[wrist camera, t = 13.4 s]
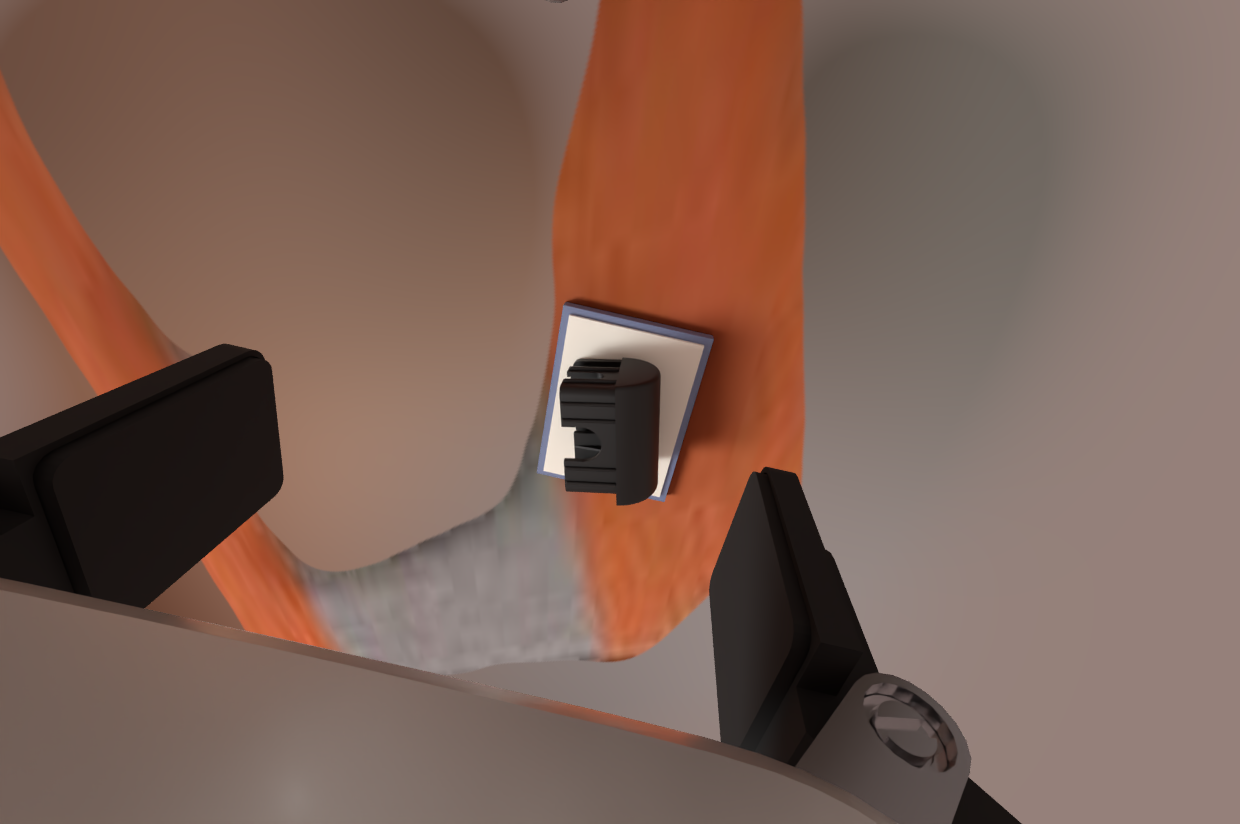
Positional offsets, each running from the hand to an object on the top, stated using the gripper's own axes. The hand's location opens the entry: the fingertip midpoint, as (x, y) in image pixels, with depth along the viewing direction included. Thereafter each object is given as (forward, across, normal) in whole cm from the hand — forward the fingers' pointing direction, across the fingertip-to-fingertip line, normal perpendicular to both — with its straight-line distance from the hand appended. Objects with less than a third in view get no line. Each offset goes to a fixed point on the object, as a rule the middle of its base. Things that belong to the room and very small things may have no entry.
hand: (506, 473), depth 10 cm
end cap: (+31, -2, +14) cm, 34 cm away
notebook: (+32, -2, +14) cm, 35 cm away
